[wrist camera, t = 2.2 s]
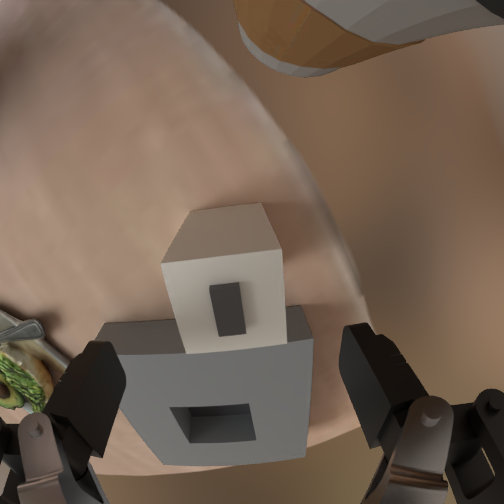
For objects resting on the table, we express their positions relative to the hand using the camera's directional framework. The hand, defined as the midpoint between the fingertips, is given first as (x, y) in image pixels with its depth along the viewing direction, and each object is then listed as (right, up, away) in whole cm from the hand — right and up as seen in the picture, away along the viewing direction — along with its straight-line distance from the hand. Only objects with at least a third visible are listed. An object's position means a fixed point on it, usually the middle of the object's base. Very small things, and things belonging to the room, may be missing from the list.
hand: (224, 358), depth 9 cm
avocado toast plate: (-23, -9, +12) cm, 28 cm away
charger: (0, +4, +7) cm, 8 cm away
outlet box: (-2, -8, +12) cm, 15 cm away
